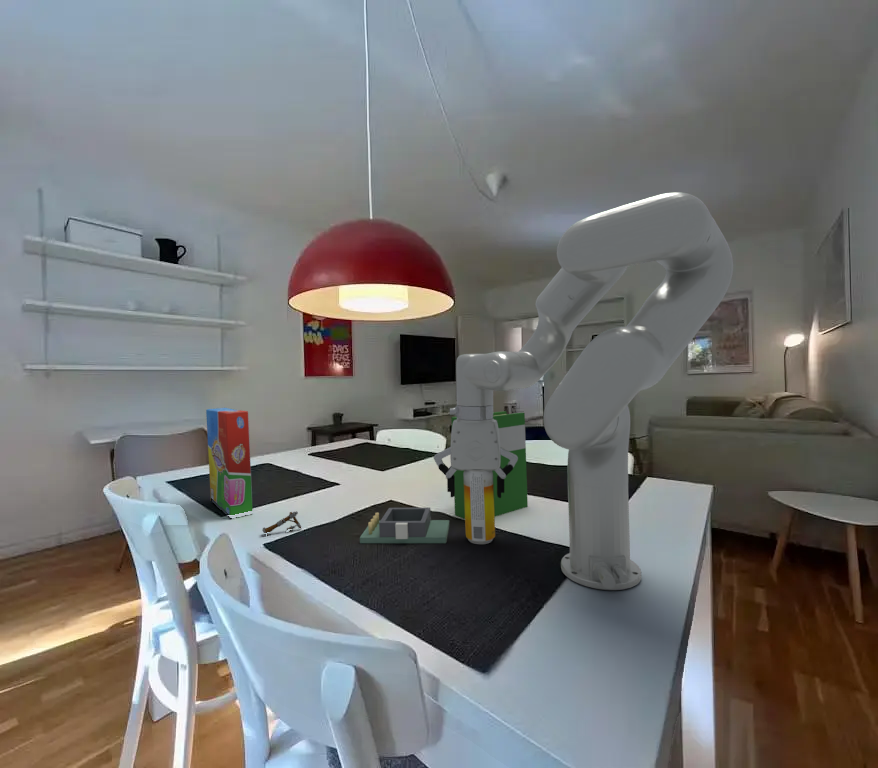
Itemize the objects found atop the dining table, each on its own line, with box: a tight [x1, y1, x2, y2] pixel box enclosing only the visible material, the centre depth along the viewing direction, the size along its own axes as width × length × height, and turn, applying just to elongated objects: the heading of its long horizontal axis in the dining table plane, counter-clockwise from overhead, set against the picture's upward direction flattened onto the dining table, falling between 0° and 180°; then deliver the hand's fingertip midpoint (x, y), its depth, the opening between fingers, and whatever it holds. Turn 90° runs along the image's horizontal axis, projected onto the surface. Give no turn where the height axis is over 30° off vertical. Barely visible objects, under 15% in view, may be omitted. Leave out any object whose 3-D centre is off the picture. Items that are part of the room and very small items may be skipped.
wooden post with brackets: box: [262, 511, 302, 534], centre depth 94 cm, size 2×8×4 cm, turn 110°
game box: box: [205, 407, 253, 515], centre depth 113 cm, size 21×6×27 cm, turn 42°
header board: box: [359, 507, 450, 544], centre depth 90 cm, size 11×18×4 cm, turn 85°
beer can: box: [463, 470, 496, 545], centre depth 86 cm, size 6×6×15 cm
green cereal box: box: [450, 410, 529, 520], centre depth 103 cm, size 18×7×24 cm, turn 125°
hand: (475, 495), depth 86 cm, fingers open, 9 cm apart
